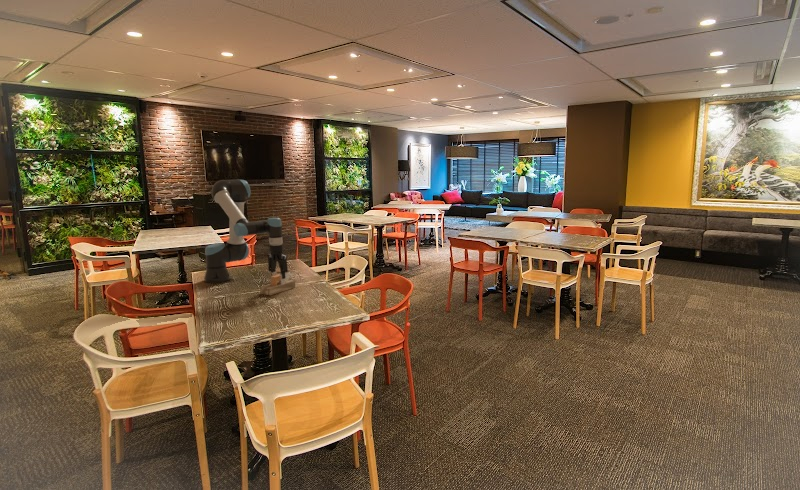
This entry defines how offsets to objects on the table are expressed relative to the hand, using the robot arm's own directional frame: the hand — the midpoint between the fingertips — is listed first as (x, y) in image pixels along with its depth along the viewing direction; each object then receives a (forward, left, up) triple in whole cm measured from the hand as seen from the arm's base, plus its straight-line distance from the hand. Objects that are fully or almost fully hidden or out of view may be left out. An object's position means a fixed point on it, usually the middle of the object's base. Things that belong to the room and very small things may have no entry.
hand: (279, 283), depth 250 cm
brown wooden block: (-1, 0, -4) cm, 4 cm away
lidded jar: (-14, +16, -5) cm, 22 cm away
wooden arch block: (-1, 0, -4) cm, 4 cm away
